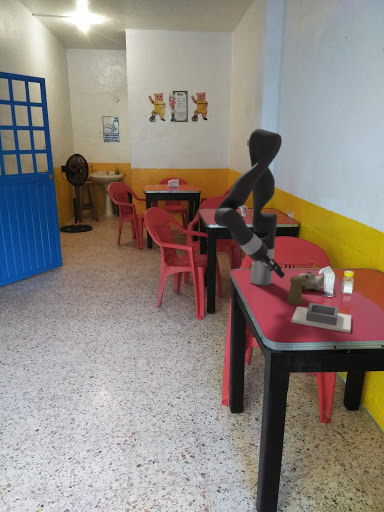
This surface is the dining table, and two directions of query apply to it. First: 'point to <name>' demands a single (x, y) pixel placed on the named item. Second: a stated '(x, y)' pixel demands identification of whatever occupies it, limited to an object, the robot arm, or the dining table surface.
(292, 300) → the cork
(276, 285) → the dining table surface
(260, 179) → the robot arm
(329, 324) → the board
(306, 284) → the ceramic sculpture
